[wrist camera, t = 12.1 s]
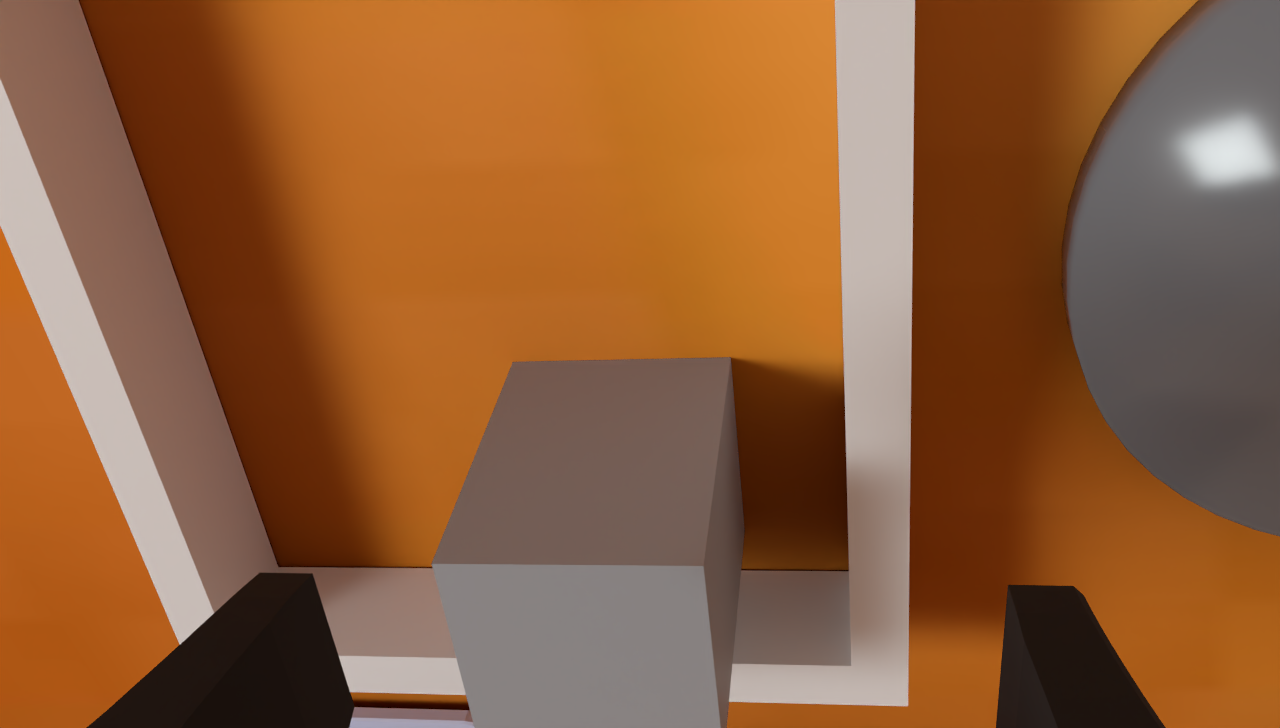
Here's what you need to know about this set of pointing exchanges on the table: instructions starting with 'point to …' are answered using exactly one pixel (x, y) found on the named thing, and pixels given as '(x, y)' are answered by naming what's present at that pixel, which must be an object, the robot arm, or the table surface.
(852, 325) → the white rectangular frame
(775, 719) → the table surface
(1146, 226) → the slate pad
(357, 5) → the table surface
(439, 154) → the table surface
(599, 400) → the plain grey box
